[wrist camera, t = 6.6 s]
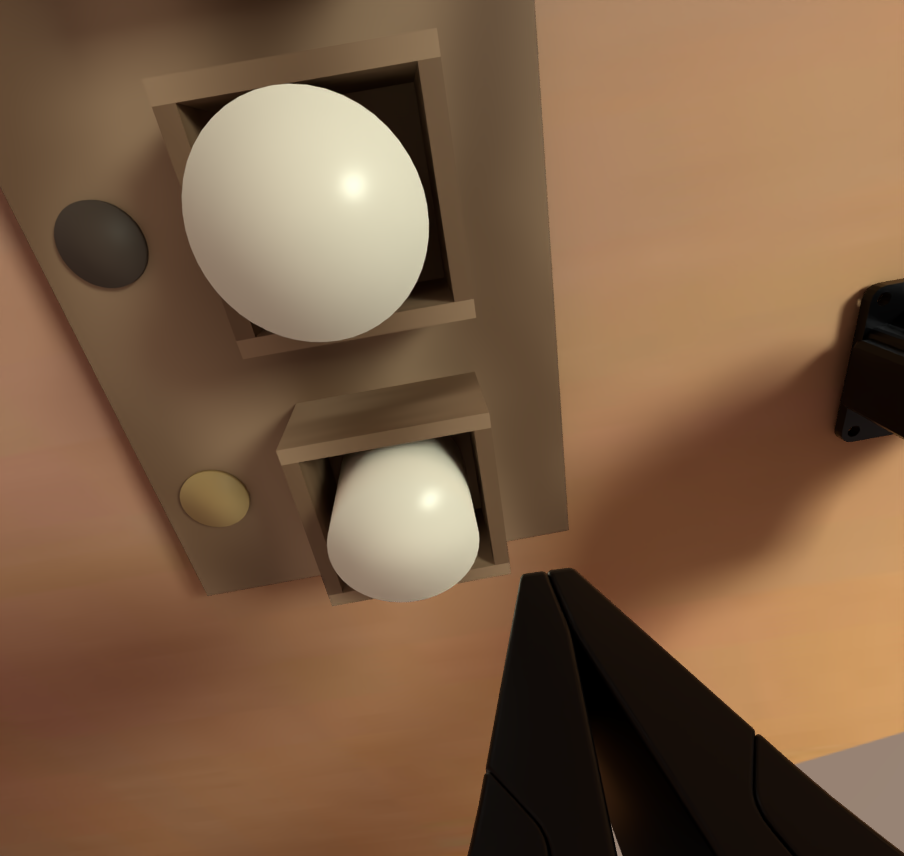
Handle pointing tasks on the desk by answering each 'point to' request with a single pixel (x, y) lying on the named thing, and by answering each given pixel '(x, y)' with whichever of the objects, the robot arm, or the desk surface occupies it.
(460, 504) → the button
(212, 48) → the board
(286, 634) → the desk surface
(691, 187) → the desk surface
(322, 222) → the button
